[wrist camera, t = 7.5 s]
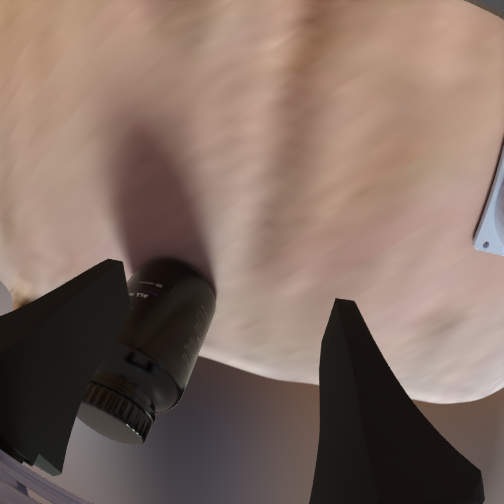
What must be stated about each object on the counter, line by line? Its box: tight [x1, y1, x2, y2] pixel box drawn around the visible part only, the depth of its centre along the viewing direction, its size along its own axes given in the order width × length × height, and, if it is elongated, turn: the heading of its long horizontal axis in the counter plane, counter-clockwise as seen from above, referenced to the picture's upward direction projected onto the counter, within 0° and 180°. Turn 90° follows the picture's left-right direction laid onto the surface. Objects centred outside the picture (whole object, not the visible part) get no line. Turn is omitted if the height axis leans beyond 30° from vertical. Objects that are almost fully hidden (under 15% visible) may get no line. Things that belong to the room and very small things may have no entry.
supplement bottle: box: [77, 258, 216, 446], centre depth 19 cm, size 7×7×12 cm
